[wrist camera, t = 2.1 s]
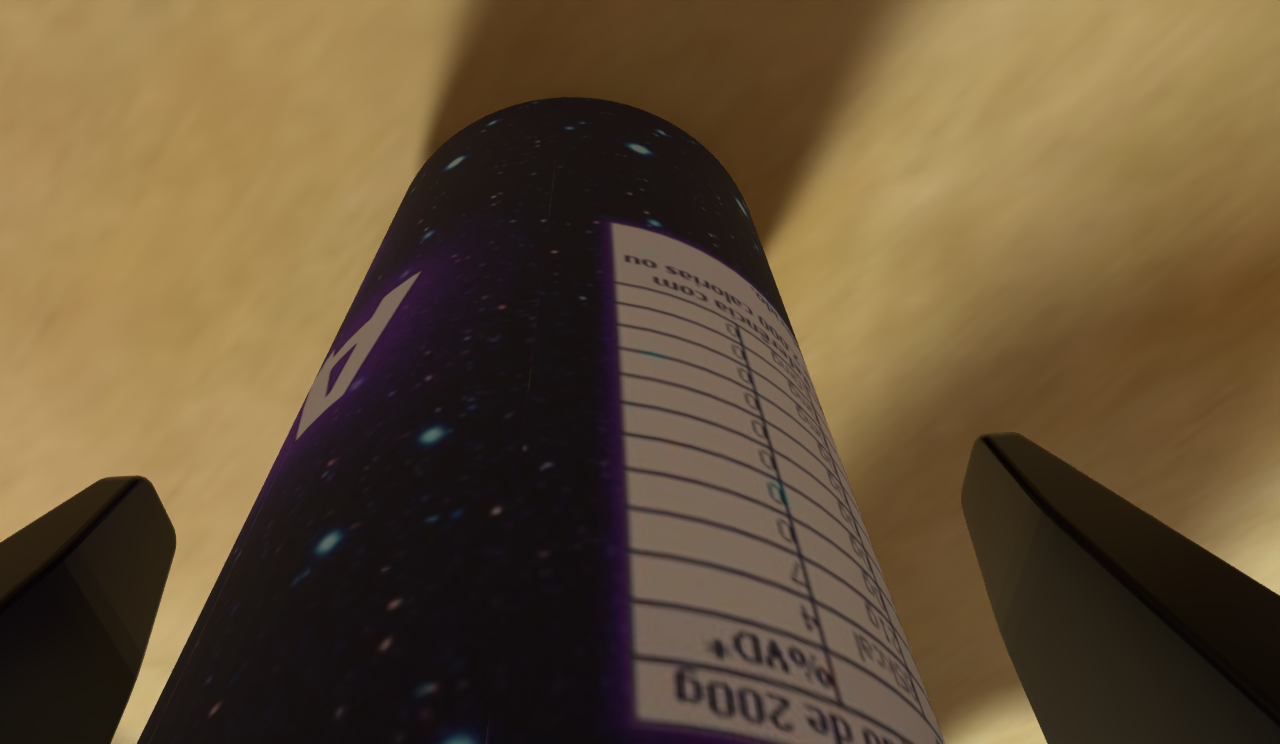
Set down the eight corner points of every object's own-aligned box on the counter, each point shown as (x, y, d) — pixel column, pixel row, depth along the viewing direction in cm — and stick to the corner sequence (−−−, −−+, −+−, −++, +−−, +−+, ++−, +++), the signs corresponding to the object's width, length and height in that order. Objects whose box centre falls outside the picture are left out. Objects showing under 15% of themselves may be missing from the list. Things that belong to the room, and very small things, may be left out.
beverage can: (430, 29, 12) (-536, 1357, 2) (803, 136, 13) (1527, 1321, 3) (383, 356, 15) (-64, 1511, 5) (687, 419, 16) (837, 1466, 6)
